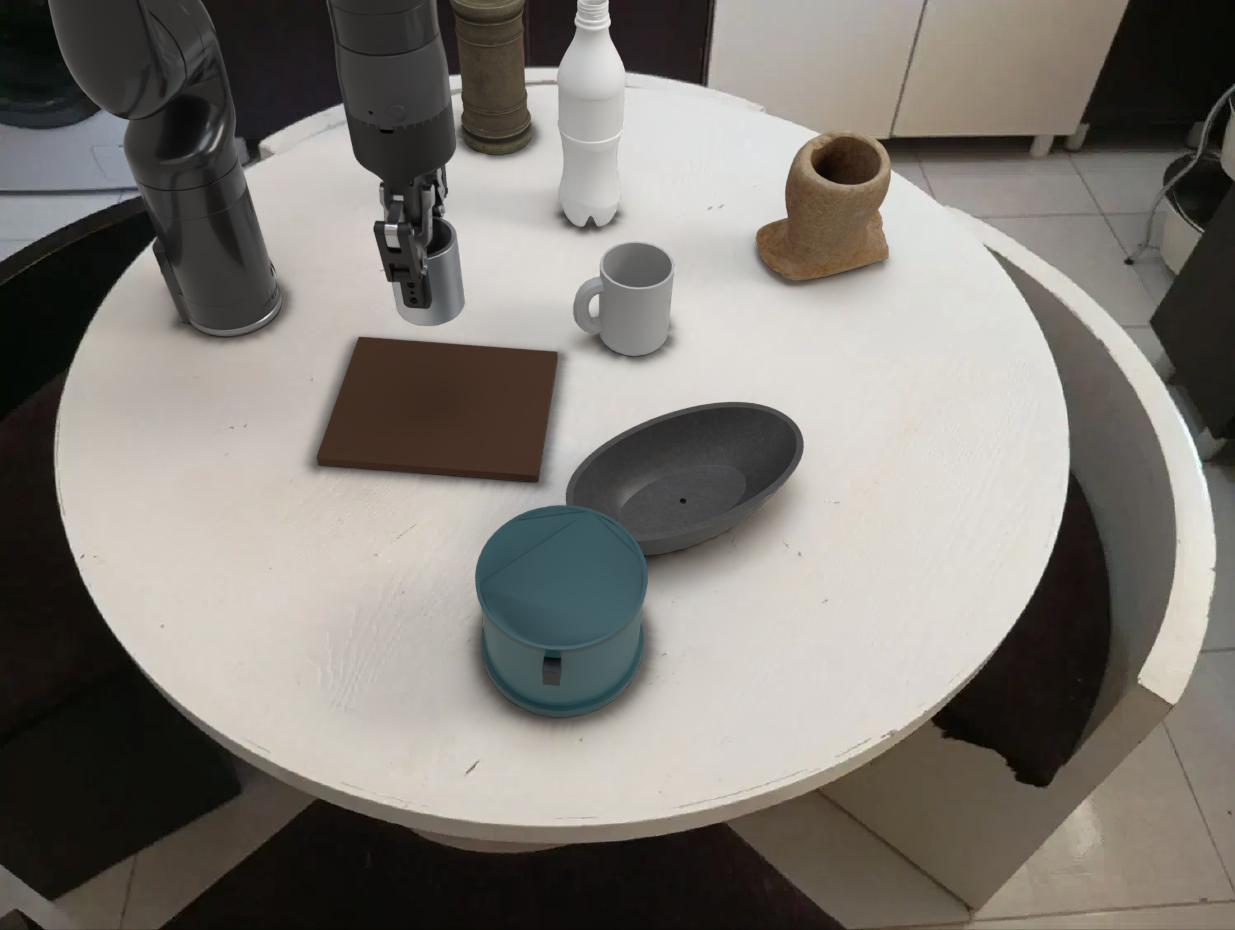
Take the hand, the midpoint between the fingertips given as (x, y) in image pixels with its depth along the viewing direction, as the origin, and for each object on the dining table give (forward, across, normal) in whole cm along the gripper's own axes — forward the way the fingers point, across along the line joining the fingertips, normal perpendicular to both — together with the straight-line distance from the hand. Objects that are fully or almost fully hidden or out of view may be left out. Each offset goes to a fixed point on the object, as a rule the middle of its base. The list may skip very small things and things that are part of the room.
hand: (426, 279), depth 83 cm
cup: (+16, -12, +16) cm, 25 cm away
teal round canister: (+16, +24, +14) cm, 32 cm away
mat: (+16, 0, 0) cm, 16 cm away
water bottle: (+16, -32, +11) cm, 37 cm away
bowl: (+16, +10, +23) cm, 30 cm away
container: (+16, -47, -2) cm, 50 cm away
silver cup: (+3, 0, 0) cm, 3 cm away
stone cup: (+16, -27, +38) cm, 49 cm away
